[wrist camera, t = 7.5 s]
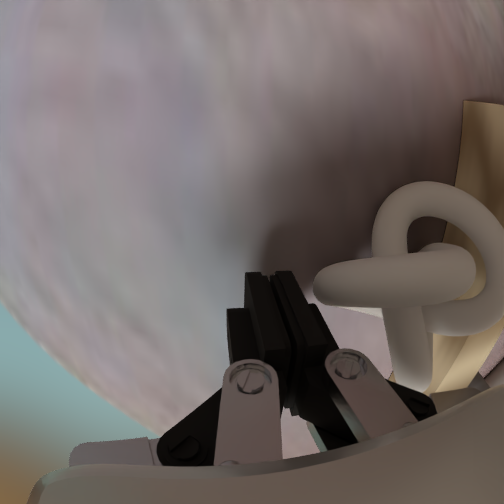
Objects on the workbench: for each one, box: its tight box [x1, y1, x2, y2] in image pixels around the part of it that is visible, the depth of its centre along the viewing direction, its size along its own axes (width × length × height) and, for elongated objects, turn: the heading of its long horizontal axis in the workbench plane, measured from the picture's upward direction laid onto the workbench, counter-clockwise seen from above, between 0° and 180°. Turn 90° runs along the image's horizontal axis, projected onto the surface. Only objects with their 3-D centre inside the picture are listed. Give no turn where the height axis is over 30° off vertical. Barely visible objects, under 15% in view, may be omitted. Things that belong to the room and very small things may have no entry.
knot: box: [313, 181, 504, 393], centre depth 10 cm, size 8×8×6 cm
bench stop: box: [389, 100, 504, 396], centre depth 11 cm, size 20×7×6 cm, turn 178°
